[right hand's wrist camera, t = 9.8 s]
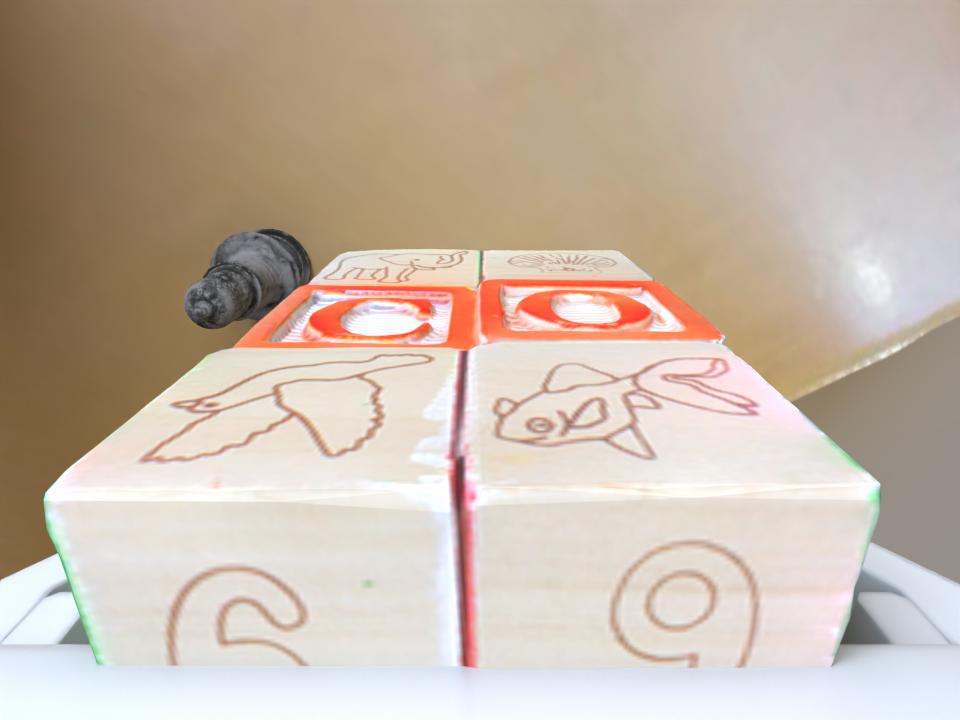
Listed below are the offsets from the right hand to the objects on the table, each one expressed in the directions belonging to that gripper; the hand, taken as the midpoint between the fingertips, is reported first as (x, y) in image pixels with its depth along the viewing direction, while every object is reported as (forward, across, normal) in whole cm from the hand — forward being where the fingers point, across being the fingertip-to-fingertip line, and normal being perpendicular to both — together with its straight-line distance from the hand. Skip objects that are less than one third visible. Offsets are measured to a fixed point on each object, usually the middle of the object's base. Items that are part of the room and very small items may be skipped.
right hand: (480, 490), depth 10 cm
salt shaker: (+33, -15, -3) cm, 36 cm away
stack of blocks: (+4, 0, -7) cm, 8 cm away
